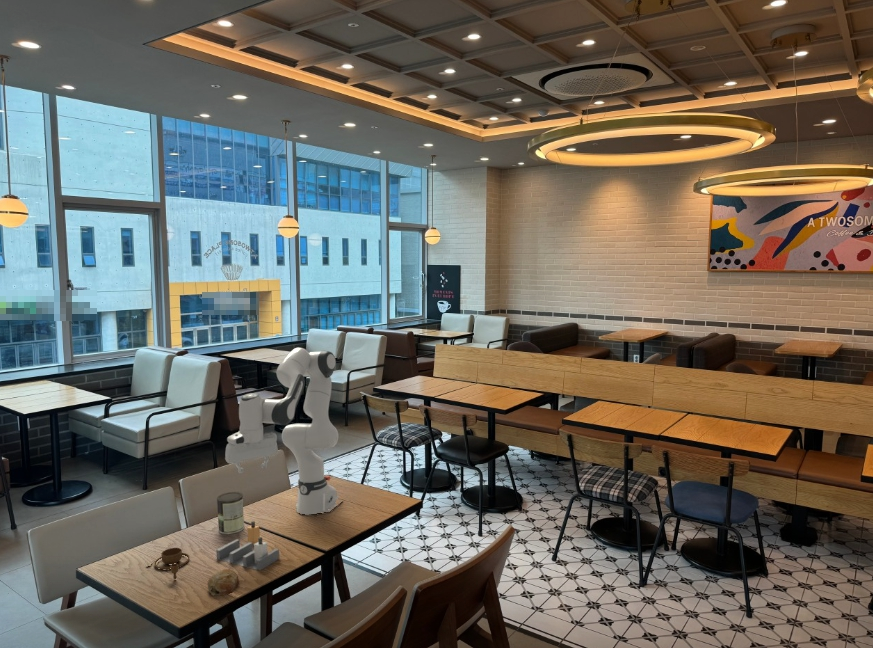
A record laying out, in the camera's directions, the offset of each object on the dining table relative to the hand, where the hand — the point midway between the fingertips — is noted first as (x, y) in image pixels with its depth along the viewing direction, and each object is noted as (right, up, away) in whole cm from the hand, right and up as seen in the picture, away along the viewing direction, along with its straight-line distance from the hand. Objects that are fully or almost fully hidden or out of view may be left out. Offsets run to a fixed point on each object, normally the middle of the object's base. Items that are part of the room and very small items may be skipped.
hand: (252, 470), depth 239 cm
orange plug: (0, -29, 0) cm, 29 cm away
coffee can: (-13, -28, +15) cm, 35 cm away
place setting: (-25, -32, -18) cm, 45 cm away
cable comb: (+3, -30, -14) cm, 33 cm away
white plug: (+8, -29, -17) cm, 35 cm away
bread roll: (0, -32, -33) cm, 46 cm away
